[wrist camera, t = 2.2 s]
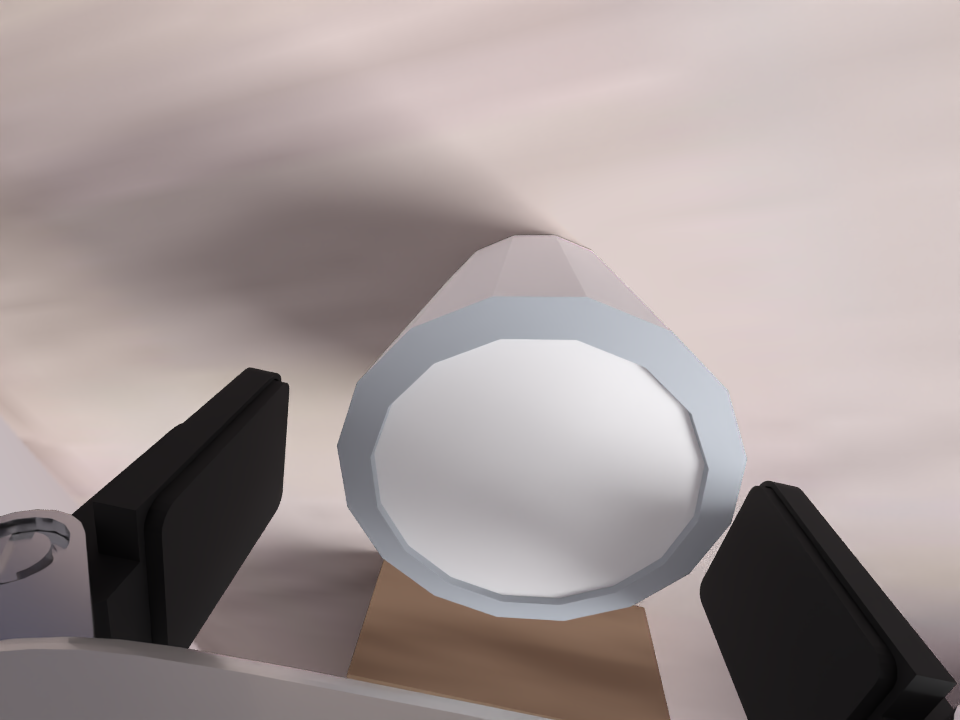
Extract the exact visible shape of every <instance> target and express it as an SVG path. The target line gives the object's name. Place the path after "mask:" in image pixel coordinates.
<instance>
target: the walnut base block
mask: <svg viewBox="0 0 960 720" xmlns="http://www.w3.org/2000/svg"><path fill="white" fill-rule="evenodd" d="M347 678H348V679H353V680H358V681H363V682H368V683H374V684H379V685H384V686H389V687H394V688H399V689H404V690H409V691H414V692H419V693H424V694H429V695H434V696H439V697H444V698H449V699H454V700H459V701H464V702H469V703H474V704H479V705H484V706H489V707H494V708H499V709H504V710H508V711H513V712H518V713H523V714H528V715H533V716H538V717H543V718H548V719H553V720H670V716H669V712H668V707H667V703H666V699H665V694H664V690H663V686H662V682H661V677H660V673H659V669H658V664H657V660H656V656H655V652H654V647H653V643H652V639H651V635H650V630H649V626H648V622H647V617H646V613H645V609H644V608H643V607H638V606H634V605H633V606H631V607H627V608H622V609H618V610H613V611H608V612H604V613H599V614H594V615H590V616H585V617H580V618H575V619H571V620H566V621H557V620H540V619H524V618H508V617H496V616H493V615H490V614H487V613H484V612H481V611H478V610H475V609H472V608H469V607H466V606H464V605H461V604H458V603H455V602H452V601H449V600H446V599H443V598H440V597H437V596H434V595H433V594H431V593H430V592H429V591H427V590H426V589H425V588H423V587H422V586H420V585H419V584H418V583H416V582H415V581H413V580H412V579H411V578H409V577H408V576H407V575H405V574H404V573H402V572H401V571H400V570H398V569H397V568H395V567H394V566H393V565H391V564H390V563H389V562H387V561H386V560H384V561H383V564H382V567H381V570H380V573H379V576H378V579H377V582H376V586H375V589H374V592H373V595H372V598H371V601H370V604H369V607H368V610H367V614H366V617H365V620H364V623H363V626H362V629H361V632H360V635H359V638H358V642H357V645H356V648H355V651H354V654H353V657H352V660H351V663H350V666H349V669H348V673H347Z"/></svg>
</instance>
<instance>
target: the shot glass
mask: <svg viewBox="0 0 960 720" xmlns="http://www.w3.org/2000/svg"><path fill="white" fill-rule="evenodd" d="M337 449H338V455H339V460H340V466H341V472H342V478H343V483H344V489H345V495H346V501H347V507H348V508H349V510H350V511H351V513H352V514H353V516H354V517H355V518H356V520H357V521H358V523H359V524H360V526H361V527H362V529H363V530H364V532H365V533H366V535H367V536H368V538H369V539H370V541H371V542H372V544H373V545H374V547H375V548H376V549H377V551H378V552H379V554H380V555H381V557H382V558H383V559H384V560H386V561H387V562H389V563H390V564H391V565H393V566H394V567H395V568H397V569H398V570H400V571H401V572H402V573H404V574H405V575H407V576H408V577H409V578H411V579H412V580H413V581H415V582H416V583H418V584H419V585H420V586H422V587H423V588H425V589H426V590H427V591H429V592H430V593H431V594H433V595H434V596H437V597H440V598H443V599H446V600H449V601H452V602H455V603H458V604H461V605H464V606H466V607H469V608H472V609H475V610H478V611H481V612H484V613H487V614H490V615H493V616H496V617H508V618H524V619H540V620H557V621H566V620H571V619H575V618H580V617H585V616H590V615H594V614H599V613H604V612H608V611H613V610H618V609H622V608H627V607H631V606H633V605H635V604H636V603H638V602H640V601H642V600H643V599H645V598H647V597H649V596H651V595H652V594H654V593H656V592H658V591H659V590H661V589H663V588H665V587H667V586H668V585H670V584H672V583H674V582H675V581H677V580H679V579H681V578H683V577H684V576H686V575H688V574H689V573H690V572H691V571H692V570H693V569H694V567H695V566H696V565H697V564H698V563H699V561H700V560H701V559H702V558H703V557H704V555H705V554H706V553H707V552H708V551H709V549H710V548H711V547H712V546H713V544H714V543H715V542H716V541H717V540H718V538H719V537H720V536H721V535H722V534H723V532H724V531H725V530H726V529H727V528H728V526H729V525H730V524H731V522H732V518H733V514H734V510H735V506H736V502H737V498H738V494H739V490H740V486H741V482H742V478H743V474H744V470H745V466H746V462H747V457H746V453H745V450H744V446H743V443H742V439H741V435H740V432H739V428H738V424H737V421H736V417H735V413H734V410H733V406H732V402H731V399H730V395H729V392H728V390H727V389H726V388H725V387H724V386H723V385H722V384H721V382H720V381H719V380H718V379H717V378H716V377H715V376H714V375H713V374H712V373H711V372H710V371H709V370H708V369H707V368H706V367H705V366H704V365H703V364H702V362H701V361H700V360H699V359H698V358H697V357H696V356H695V355H694V354H693V353H692V352H691V351H690V350H689V349H688V348H687V347H686V346H685V345H684V344H683V342H682V341H681V340H680V339H679V338H678V337H677V336H676V335H675V334H674V333H673V332H672V331H671V330H670V329H669V328H668V327H667V326H666V325H665V324H664V323H663V322H662V321H661V320H660V319H659V318H658V317H657V316H656V315H655V314H654V313H653V312H652V311H651V310H650V309H649V308H648V307H647V306H646V304H645V303H644V302H643V301H642V300H641V299H640V298H639V297H638V296H637V295H636V294H635V293H634V292H633V291H632V290H631V289H630V288H629V287H628V286H627V285H626V284H625V283H624V282H623V281H622V280H621V279H620V278H619V277H618V276H617V275H616V274H615V273H614V272H613V271H612V270H611V269H610V268H609V267H608V266H607V265H606V264H605V263H604V262H603V261H602V260H601V259H600V258H599V257H598V256H597V255H596V254H595V253H594V252H593V251H592V250H590V249H587V248H585V247H582V246H580V245H578V244H575V243H573V242H570V241H568V240H566V239H563V238H561V237H558V236H556V235H513V236H511V237H508V238H506V239H504V240H501V241H499V242H496V243H494V244H492V245H489V246H487V247H485V248H482V249H480V250H477V251H476V252H475V253H474V254H473V255H472V256H471V257H470V258H469V259H468V260H467V261H466V262H465V263H464V264H463V265H462V266H461V267H460V268H459V269H458V270H457V271H456V272H455V273H454V274H453V275H452V277H451V278H450V279H449V280H448V281H447V282H446V283H445V284H444V285H443V286H442V288H441V289H440V290H439V291H438V292H437V293H436V294H435V295H434V297H433V298H432V299H431V300H430V301H429V302H428V303H427V304H426V306H425V307H424V308H423V309H422V310H421V311H420V312H419V314H418V315H417V316H416V317H415V318H414V319H413V320H412V321H411V323H410V324H409V325H408V326H407V327H406V328H405V329H404V330H403V332H402V333H401V334H400V335H399V336H398V337H397V338H396V339H395V341H394V342H393V343H392V344H391V345H390V346H389V347H388V348H387V350H386V351H385V352H384V353H383V354H382V355H381V356H380V357H379V359H378V360H377V361H376V362H375V363H374V364H373V365H372V366H371V368H370V369H369V370H368V371H367V372H366V373H365V374H364V375H363V377H362V378H361V379H360V380H359V381H358V382H357V384H356V388H355V391H354V394H353V397H352V400H351V403H350V406H349V410H348V413H347V416H346V419H345V422H344V425H343V429H342V432H341V435H340V438H339V441H338V444H337Z"/></svg>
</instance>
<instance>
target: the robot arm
mask: <svg viewBox="0 0 960 720" xmlns="http://www.w3.org/2000/svg"><path fill="white" fill-rule="evenodd" d="M288 402H289V385H288V383H284V382H281V376H280V375H279V374H278V373H273V372H269V371H264V370H260V369H255V368H247V369H245V370H244V371H243V372H242V373H241V374H240V375H238V376H237V377H236V378H235V379H234V380H233V381H231V382H230V383H229V384H228V385H227V386H226V387H224V388H223V389H222V390H221V391H220V392H219V393H217V394H216V395H215V396H214V397H213V398H212V399H210V400H209V401H208V402H207V403H206V404H205V405H204V406H202V407H201V408H200V409H199V410H198V411H197V412H195V413H194V414H193V415H192V416H191V417H190V418H188V419H187V420H186V421H185V422H184V423H182V424H179V425H178V426H176V427H174V428H173V429H172V430H171V431H169V432H168V433H167V434H166V435H165V436H164V437H162V438H161V439H160V440H159V441H158V442H156V443H155V444H154V445H153V446H152V447H151V448H149V449H148V450H147V451H146V452H145V453H144V454H142V455H141V456H140V457H139V458H138V459H136V460H135V461H134V462H133V463H132V464H131V465H129V466H128V467H127V468H126V469H125V470H124V471H122V472H121V473H120V474H119V475H118V476H117V477H115V478H114V479H113V480H112V481H111V482H109V483H108V484H107V485H106V486H105V487H104V488H102V489H101V490H100V491H99V492H98V493H97V494H95V495H94V496H93V497H92V498H91V499H89V500H88V501H87V502H86V503H85V504H84V505H82V506H81V507H80V508H79V509H78V510H77V511H75V512H74V513H73V514H72V515H71V514H67V513H64V512H60V511H56V510H40V509H36V510H29V511H20V512H14V513H10V514H7V515H3V516H0V720H553V719H548V718H543V717H538V716H533V715H528V714H523V713H518V712H513V711H508V710H504V709H499V708H494V707H489V706H484V705H479V704H474V703H469V702H464V701H459V700H454V699H449V698H444V697H439V696H434V695H429V694H424V693H419V692H414V691H409V690H404V689H399V688H394V687H389V686H384V685H379V684H374V683H368V682H363V681H358V680H353V679H348V678H343V677H338V676H333V675H328V674H323V673H318V672H313V671H308V670H303V669H298V668H293V667H287V666H282V665H276V664H271V663H265V662H259V661H254V660H248V659H243V658H237V657H232V656H226V655H221V654H215V653H209V652H204V651H198V650H192V649H188V648H189V646H190V645H191V643H192V642H193V640H194V639H195V637H196V636H197V634H198V632H199V631H200V629H201V628H202V626H203V625H204V623H205V622H206V620H207V618H208V617H209V615H210V614H211V612H212V611H213V609H214V608H215V606H216V604H217V603H218V601H219V600H220V598H221V597H222V595H223V594H224V592H225V590H226V589H227V587H228V586H229V584H230V583H231V581H232V579H233V578H234V576H235V575H236V573H237V572H238V570H239V569H240V567H241V565H242V564H243V562H244V561H245V559H246V558H247V556H248V555H249V553H250V551H251V550H252V548H253V547H254V545H255V544H256V542H257V540H258V539H259V537H260V536H261V534H262V533H263V531H264V530H265V528H266V526H267V525H268V523H269V522H270V520H271V519H272V517H273V516H274V514H275V512H276V511H277V509H278V507H279V504H280V501H281V497H282V492H283V477H284V462H285V447H286V432H287V417H288ZM700 599H701V602H702V605H703V607H704V610H705V613H706V615H707V618H708V620H709V623H710V625H711V628H712V630H713V633H714V635H715V638H716V640H717V643H718V645H719V648H720V650H721V653H722V655H723V658H724V660H725V663H726V666H727V668H728V671H729V673H730V676H731V678H732V681H733V683H734V686H735V688H736V691H737V693H738V696H739V698H740V701H741V703H742V706H743V708H744V711H745V713H746V716H747V719H748V720H960V705H958V706H957V707H956V708H955V709H953V708H952V707H951V705H950V704H949V703H948V702H947V700H946V699H945V698H944V697H945V696H946V695H947V694H948V693H949V692H950V691H951V690H952V689H953V687H954V686H955V685H956V684H957V683H956V681H955V680H954V679H953V678H952V676H951V675H950V674H949V673H948V671H947V670H946V669H945V668H944V666H943V665H942V664H941V663H940V661H939V660H938V659H937V658H936V656H935V655H934V654H933V653H932V651H931V650H930V649H929V648H928V646H927V645H926V644H925V643H924V642H923V640H922V639H921V638H920V637H919V635H918V634H917V633H916V632H915V630H914V629H913V628H912V627H911V625H910V624H909V623H908V622H907V620H906V619H905V618H904V617H903V615H902V614H901V613H900V612H899V610H898V609H897V608H896V607H895V606H894V604H893V603H892V602H891V601H890V599H889V598H888V597H887V596H886V594H885V593H884V592H883V591H882V589H881V588H880V587H879V586H878V584H877V583H876V582H875V581H874V579H873V578H872V577H871V576H870V574H869V573H868V572H867V571H866V569H865V568H864V567H863V566H862V565H861V563H860V562H859V561H858V560H857V558H856V557H855V556H854V555H853V553H852V552H851V551H850V550H849V548H848V547H847V546H846V545H845V543H844V542H843V541H842V540H841V538H840V537H839V536H838V535H837V533H836V532H835V531H834V530H833V528H832V527H831V526H830V525H829V524H828V522H827V521H826V520H825V519H824V517H823V516H822V515H821V514H820V512H819V511H818V510H817V509H816V507H815V506H814V505H813V504H812V502H811V501H810V500H809V499H808V497H807V496H806V495H805V494H804V492H803V491H802V490H801V489H799V488H798V487H795V486H790V485H786V484H781V483H776V482H772V481H765V482H763V483H762V484H760V486H754V487H753V488H752V489H751V490H750V492H749V494H748V495H747V497H746V499H745V501H744V503H743V505H742V507H741V509H740V511H739V512H738V514H737V516H736V518H735V520H734V522H733V524H732V526H731V527H730V529H729V531H728V533H727V535H726V537H725V539H724V541H723V542H722V544H721V546H720V548H719V550H718V552H717V554H716V556H715V558H714V559H713V561H712V563H711V565H710V567H709V569H708V571H707V573H706V574H705V576H704V578H703V580H702V583H701V586H700Z"/></svg>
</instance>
